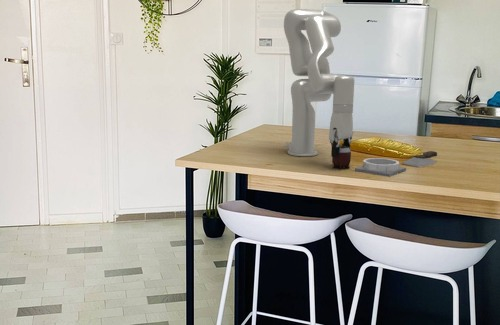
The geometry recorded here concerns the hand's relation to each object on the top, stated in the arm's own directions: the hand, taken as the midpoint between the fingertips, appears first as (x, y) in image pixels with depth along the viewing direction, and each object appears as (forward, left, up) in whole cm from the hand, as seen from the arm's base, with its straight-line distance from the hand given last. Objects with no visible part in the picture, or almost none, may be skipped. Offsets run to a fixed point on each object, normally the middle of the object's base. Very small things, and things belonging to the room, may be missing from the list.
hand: (340, 155), depth 228 cm
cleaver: (+18, +36, -6) cm, 41 cm away
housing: (+14, +6, -5) cm, 16 cm away
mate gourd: (0, 0, -5) cm, 5 cm away
